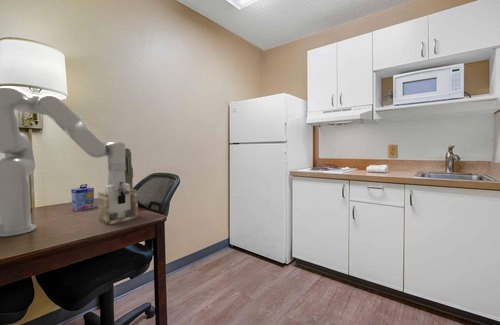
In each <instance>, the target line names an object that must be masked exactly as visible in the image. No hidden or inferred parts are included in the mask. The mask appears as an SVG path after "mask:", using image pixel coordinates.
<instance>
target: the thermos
mask: <svg viewBox="0 0 500 325" xmlns="http://www.w3.org/2000/svg"><path fill="white" fill-rule="evenodd" d="M125 168H126V170H124V172H125V182H126V183H127V184H130V189H133V190H134V188H133V187H134V186H133V184H134V183H133V178H134V168H133V165H132V151H131V150H130V148H125Z"/></svg>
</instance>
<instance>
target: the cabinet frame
mask: <svg viewBox="0 0 500 325" xmlns="http://www.w3.org/2000/svg"><path fill="white" fill-rule="evenodd" d="M138 198H139V197H138V190H137V189H134V188H133V189H130V203H131V210H128V211H125V216H126V217H121V218H118V213H113V214H110V220H109V195H108V194H105V192H102V191H98V192H97V202H98V205H97V207H98V221H99V222H100V223H101V224H102V223H103V224H104V225H106V226H108V225H113V224H117V223H122V222H127V221H130V219H131V220H134V218H135V219H138V218H139V205H138V204H139V203H138V202H139V201H138ZM126 220H127V221H126Z"/></svg>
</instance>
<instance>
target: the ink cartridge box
mask: <svg viewBox="0 0 500 325" xmlns="http://www.w3.org/2000/svg"><path fill="white" fill-rule="evenodd" d="M70 191H71V210H72V211H75V212H80V211H85V210H90V209H94V208H95V188H94V187H91V186H88V184H87V183H84V184H80V186H79V187H76V188H71V189H70Z"/></svg>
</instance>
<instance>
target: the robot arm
mask: <svg viewBox="0 0 500 325" xmlns="http://www.w3.org/2000/svg"><path fill="white" fill-rule="evenodd" d="M15 110H16V111H19V112H24V113H30V114H38V115H43V116H46V117H48V118H50V120H52V121H53V122H54V123H55V125H56V126H58V127H59V128H60V129H61V130H62V131H63V132H64V133H65V134H66V135H67V136H68V137H70V139H71V140H72V142H74V143H75V144H77V145H78V147H80V149H82V150H83V152H85V153H86V154H87V155H88V156H90V157H92V158H94V159H95V158H98V159H99V158H103V157H107V171H108V173H107V174H108V175H107V185H110V186H113V191H114V192H116V191H117V192H118V195H119V196H118V204H123V203H125V195H126V182H125V172H124V170H126V168H125V149H126V145H125V143H124V142H120V141H119V142H118V141H112V142H103V141H101V140H100V139H99V138H98V137H97V136H95V134H93V132H92V131H90V130H89V129H88V127H87V126H86V124H85V122H84V121H83V119H82V118H80V116H78V114H76V113H75V112H74V111H73V110H72V109H71V108H70V107H69V106H68V104H66V102H65V101H64V99H63V100H62V99H61V98H60V97H58V96H57V95H54V94H51V93H48V94H43V95H38V94H33V93H28V92H26V91H24V90H22V89H20V88H18V87H15V86H8V85H7V86H1V87H0V153H1V154H4V158H1V159H0V237H4V238H5V237H13V236H17V235H22V234H26V233H29V232H33V231H34V230H37V225H36V224H33V223H32V211H31V199H30V198H31V195H30V186H29V181H28V177H29V176H30V175H32V174H33V173H34V171H35V169H36V162H35V157H34V152H33V151H34V150H33V146H32V142H31V140H30V139H29V137H28V136H27V135H25V134H24V133H22V132H20V129H19V122H18V119H17V116H16V113H15ZM120 191H121V192H120Z"/></svg>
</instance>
